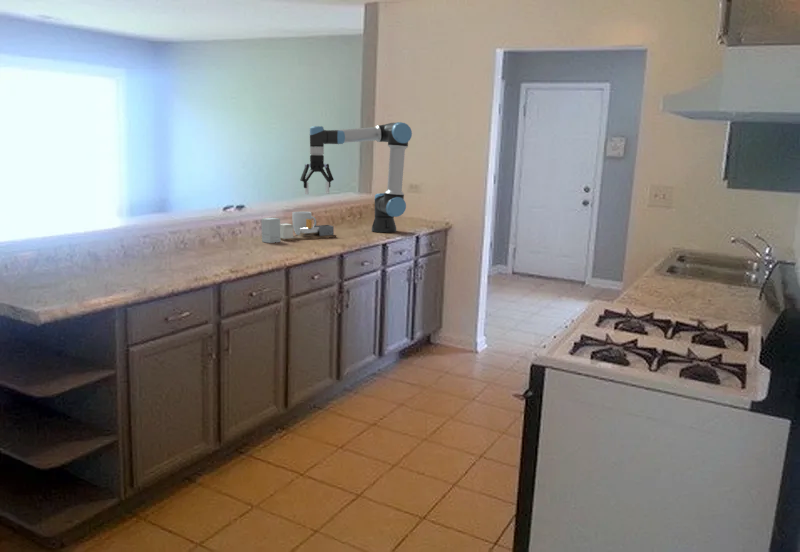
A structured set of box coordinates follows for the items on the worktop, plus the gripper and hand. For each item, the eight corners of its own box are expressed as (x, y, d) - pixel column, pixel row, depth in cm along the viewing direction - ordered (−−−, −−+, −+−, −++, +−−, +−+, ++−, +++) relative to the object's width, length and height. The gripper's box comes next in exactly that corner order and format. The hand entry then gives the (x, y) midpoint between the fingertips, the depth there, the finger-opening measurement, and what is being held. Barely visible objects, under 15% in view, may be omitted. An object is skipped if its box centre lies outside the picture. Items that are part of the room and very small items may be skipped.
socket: (287, 236, 375) (287, 223, 374) (293, 238, 369) (293, 224, 368) (278, 237, 372) (278, 223, 371) (284, 238, 366) (284, 225, 365)
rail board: (328, 235, 391) (328, 233, 391) (336, 237, 384) (336, 235, 383) (277, 239, 373) (277, 237, 373) (284, 241, 366) (284, 239, 366)
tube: (326, 233, 387) (326, 217, 386) (330, 234, 384) (330, 218, 382) (298, 235, 377) (298, 219, 376) (301, 236, 374) (301, 220, 372)
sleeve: (327, 233, 389) (327, 224, 388) (333, 235, 384) (333, 226, 383) (314, 234, 384) (314, 225, 383) (319, 236, 379) (319, 227, 378)
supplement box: (281, 242, 363) (280, 218, 361) (269, 243, 358) (269, 219, 355) (272, 240, 368) (272, 217, 365) (261, 241, 363) (260, 218, 360)
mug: (311, 232, 402) (310, 210, 399) (321, 234, 393) (320, 212, 391) (289, 234, 392) (288, 212, 390) (298, 236, 384) (298, 213, 382)
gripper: (333, 154, 383) (333, 192, 387) (293, 154, 369) (294, 194, 373) (339, 154, 377) (339, 193, 381) (299, 154, 363) (300, 194, 367)
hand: (317, 193), depth 377 cm, fingers open, 12 cm apart
